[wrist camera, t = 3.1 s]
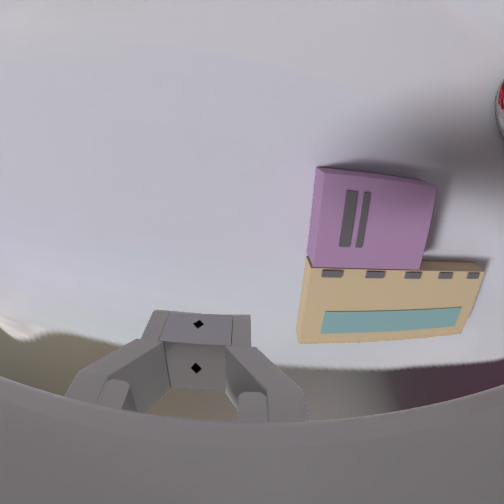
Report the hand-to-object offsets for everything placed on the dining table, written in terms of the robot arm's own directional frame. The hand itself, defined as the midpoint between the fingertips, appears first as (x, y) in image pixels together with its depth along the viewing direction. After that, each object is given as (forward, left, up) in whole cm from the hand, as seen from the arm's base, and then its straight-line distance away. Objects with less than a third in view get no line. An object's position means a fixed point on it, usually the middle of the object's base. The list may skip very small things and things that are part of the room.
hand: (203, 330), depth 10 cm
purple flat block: (-1, +10, -12) cm, 16 cm away
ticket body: (+6, +14, -12) cm, 19 cm away
